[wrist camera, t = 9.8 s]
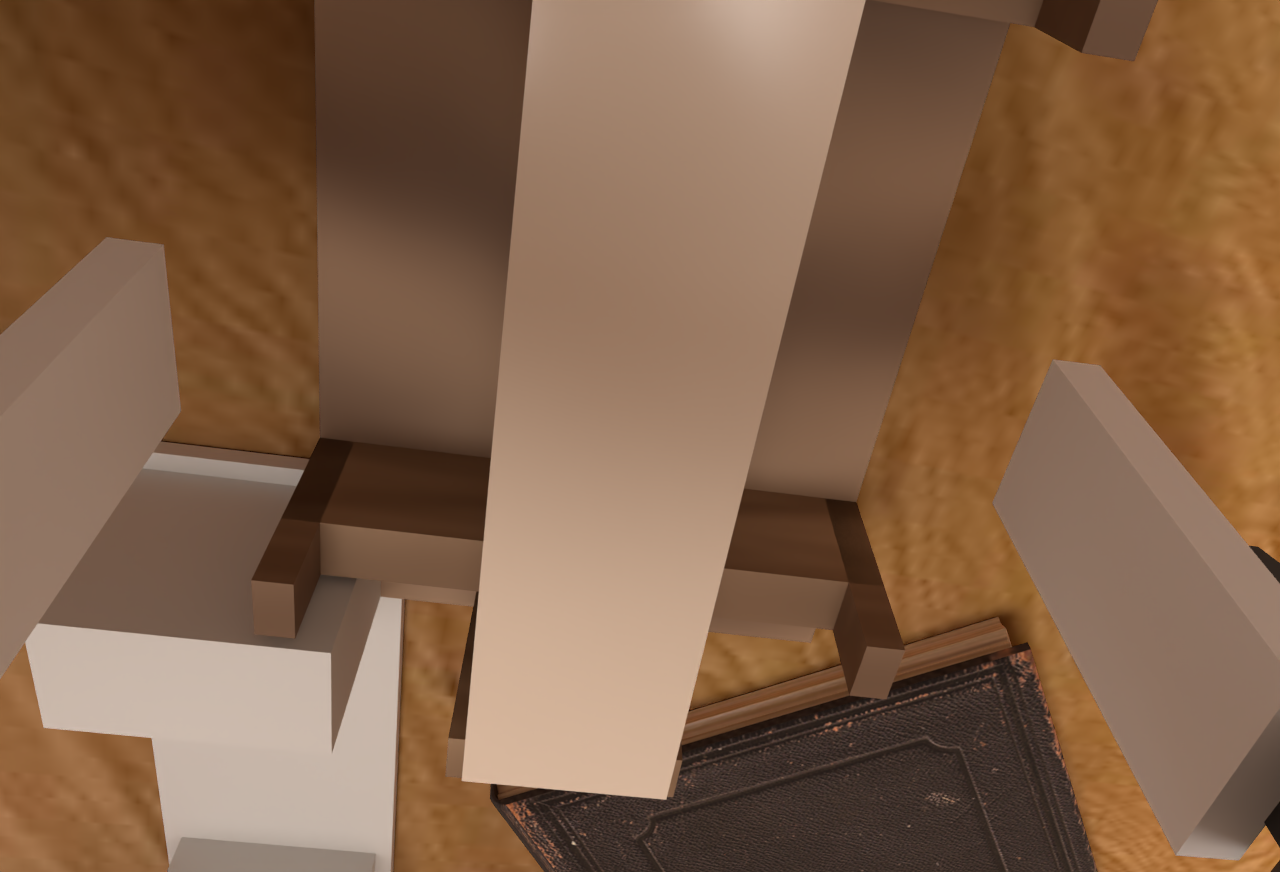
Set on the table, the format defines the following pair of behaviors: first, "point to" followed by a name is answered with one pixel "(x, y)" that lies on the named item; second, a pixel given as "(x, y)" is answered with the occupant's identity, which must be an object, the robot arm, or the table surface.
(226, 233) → the table surface
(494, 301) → the rack
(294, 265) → the table surface
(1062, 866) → the hardcover book
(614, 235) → the beige rectangular bar
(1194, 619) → the robot arm
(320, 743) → the stand
